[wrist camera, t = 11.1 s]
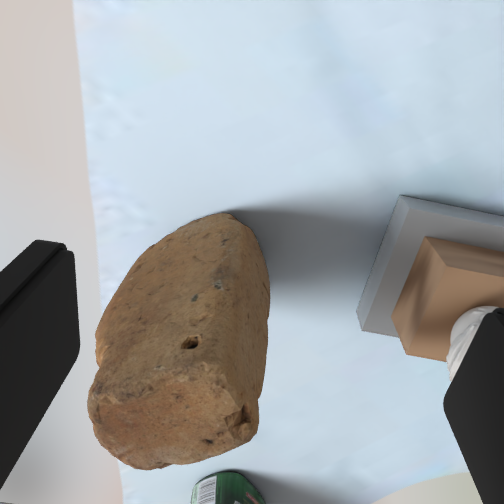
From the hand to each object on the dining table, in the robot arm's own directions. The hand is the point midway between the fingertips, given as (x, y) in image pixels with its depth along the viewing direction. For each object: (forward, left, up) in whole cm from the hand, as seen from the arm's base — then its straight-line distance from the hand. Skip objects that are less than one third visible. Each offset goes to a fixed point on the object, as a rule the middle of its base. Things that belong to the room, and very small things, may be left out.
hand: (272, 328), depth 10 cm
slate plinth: (+10, +18, -27) cm, 34 cm away
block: (+13, -3, -27) cm, 30 cm away
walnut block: (+10, +18, -24) cm, 31 cm away
